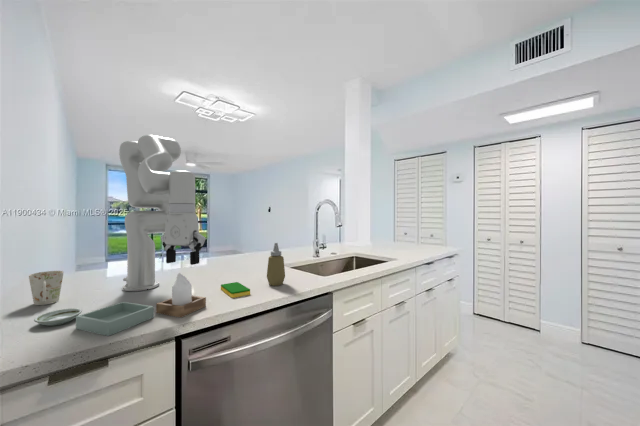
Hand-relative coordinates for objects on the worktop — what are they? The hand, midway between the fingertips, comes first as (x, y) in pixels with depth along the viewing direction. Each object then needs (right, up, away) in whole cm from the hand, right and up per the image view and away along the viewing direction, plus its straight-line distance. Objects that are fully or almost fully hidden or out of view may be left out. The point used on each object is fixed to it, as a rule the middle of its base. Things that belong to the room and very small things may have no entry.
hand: (182, 263), depth 85 cm
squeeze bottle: (+25, -15, +31) cm, 42 cm away
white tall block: (-1, -15, 0) cm, 15 cm away
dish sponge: (+10, -16, +20) cm, 27 cm away
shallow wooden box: (-1, -15, 0) cm, 15 cm away
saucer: (-30, -15, -9) cm, 35 cm away
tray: (-14, -15, -10) cm, 22 cm away
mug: (-49, -15, +5) cm, 51 cm away
